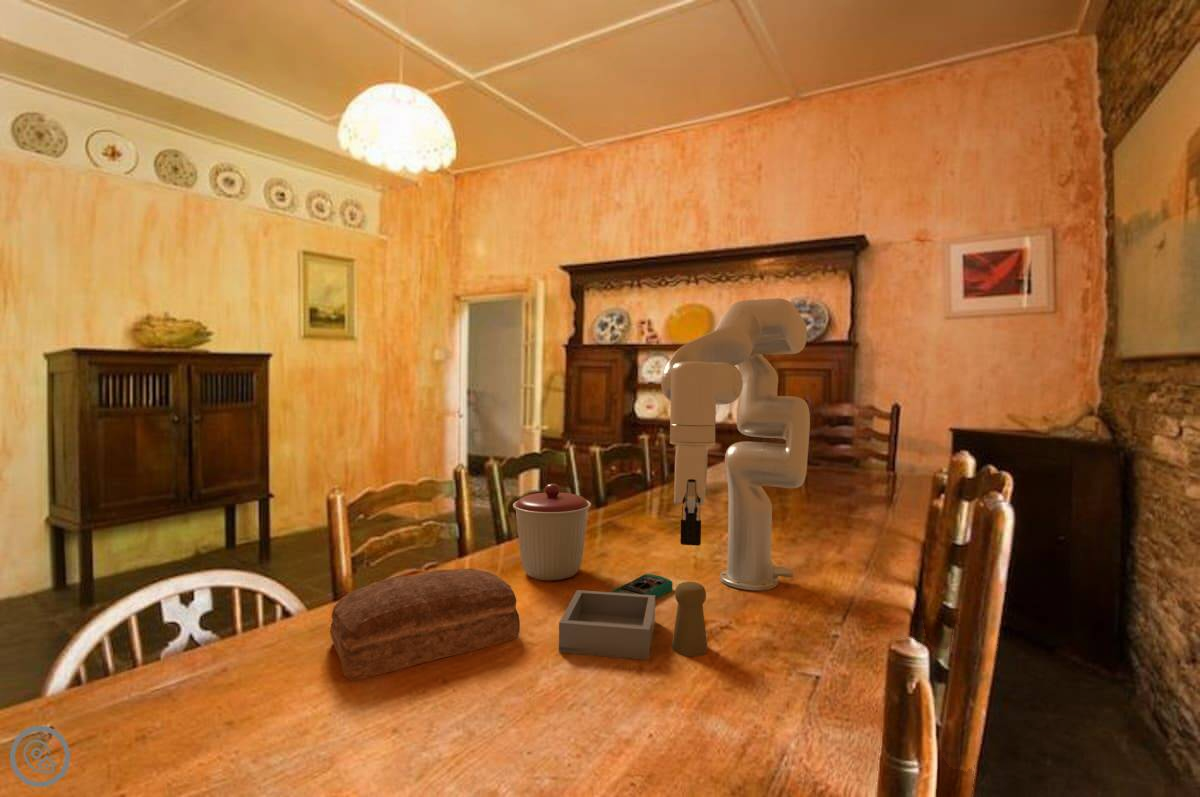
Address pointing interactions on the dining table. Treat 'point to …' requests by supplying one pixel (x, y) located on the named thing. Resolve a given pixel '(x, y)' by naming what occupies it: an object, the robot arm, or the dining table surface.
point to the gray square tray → (608, 625)
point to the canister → (551, 533)
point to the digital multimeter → (647, 586)
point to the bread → (421, 620)
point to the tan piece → (690, 620)
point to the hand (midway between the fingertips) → (690, 536)
